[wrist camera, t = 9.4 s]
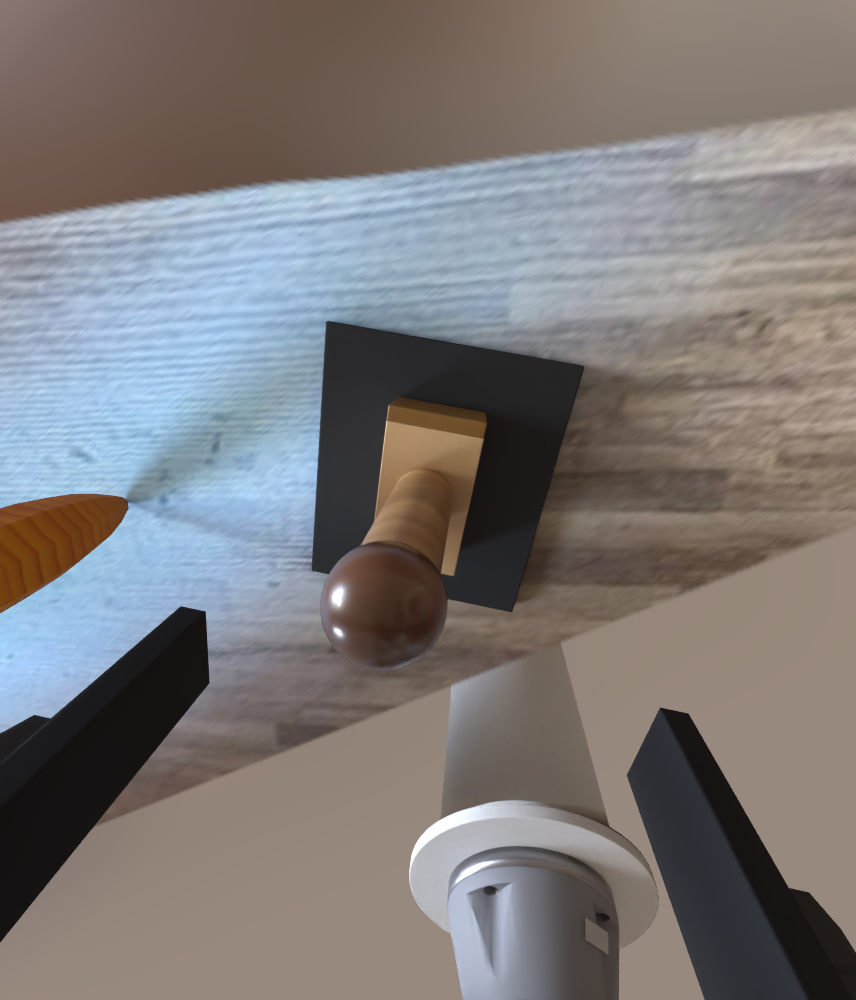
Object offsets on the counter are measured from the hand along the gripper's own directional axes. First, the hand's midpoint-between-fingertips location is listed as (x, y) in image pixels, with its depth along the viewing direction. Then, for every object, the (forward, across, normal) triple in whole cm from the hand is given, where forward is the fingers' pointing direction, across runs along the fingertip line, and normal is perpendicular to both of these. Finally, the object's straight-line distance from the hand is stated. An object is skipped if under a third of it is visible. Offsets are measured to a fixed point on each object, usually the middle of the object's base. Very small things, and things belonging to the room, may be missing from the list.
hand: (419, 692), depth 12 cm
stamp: (+14, -2, +2) cm, 14 cm away
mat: (+15, -2, +2) cm, 15 cm away
